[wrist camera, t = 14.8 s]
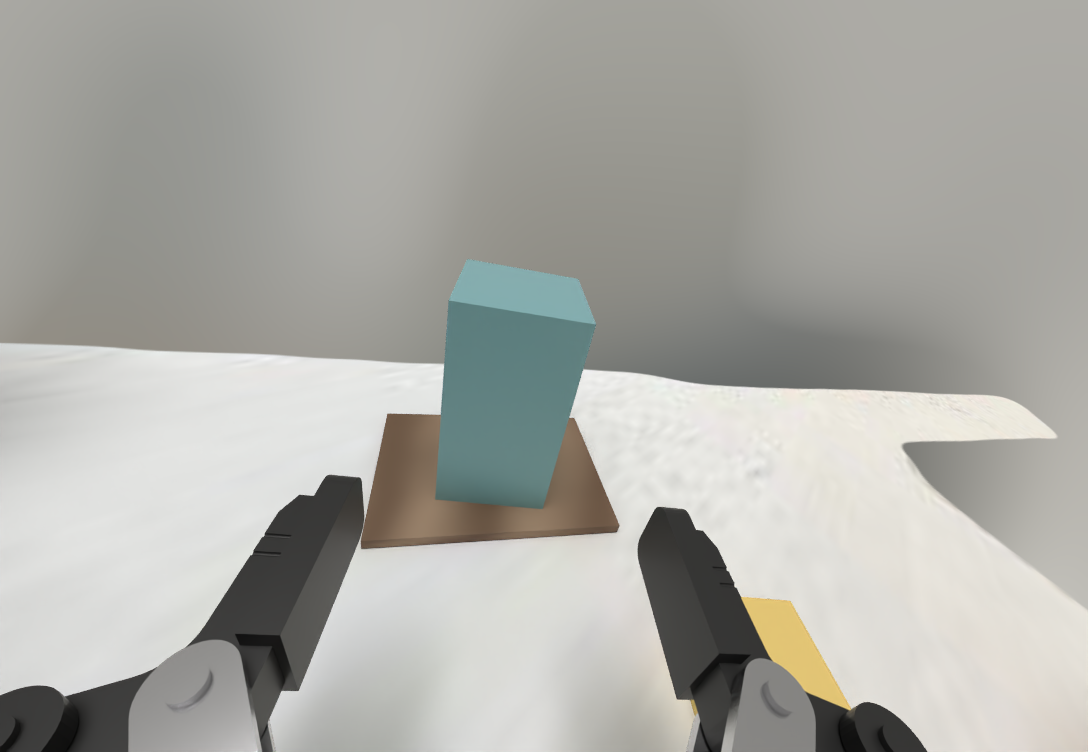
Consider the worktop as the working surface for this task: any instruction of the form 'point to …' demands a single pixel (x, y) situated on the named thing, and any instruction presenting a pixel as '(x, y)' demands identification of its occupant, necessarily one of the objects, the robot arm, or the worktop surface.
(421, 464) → the mat
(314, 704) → the worktop surface
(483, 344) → the tall teal block
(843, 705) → the small yellow cube
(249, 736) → the robot arm
